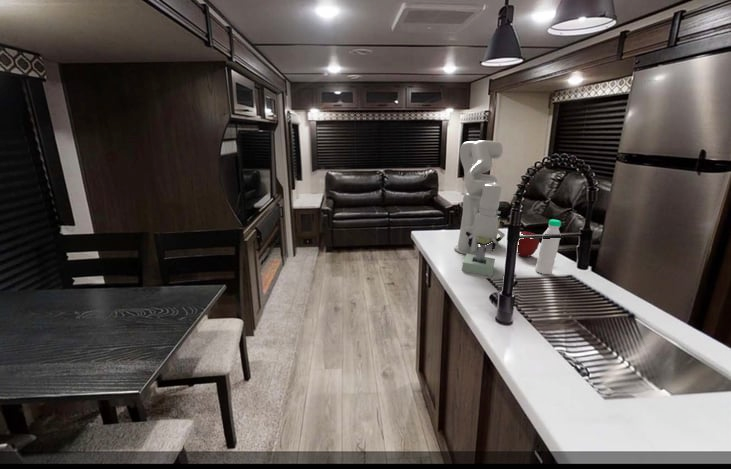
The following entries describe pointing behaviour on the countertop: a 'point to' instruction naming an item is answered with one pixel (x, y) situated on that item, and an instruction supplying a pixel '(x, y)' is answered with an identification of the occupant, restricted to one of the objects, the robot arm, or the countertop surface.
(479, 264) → the socket block
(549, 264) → the water bottle
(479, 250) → the peg
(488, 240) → the protein box
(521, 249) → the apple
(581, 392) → the countertop surface
